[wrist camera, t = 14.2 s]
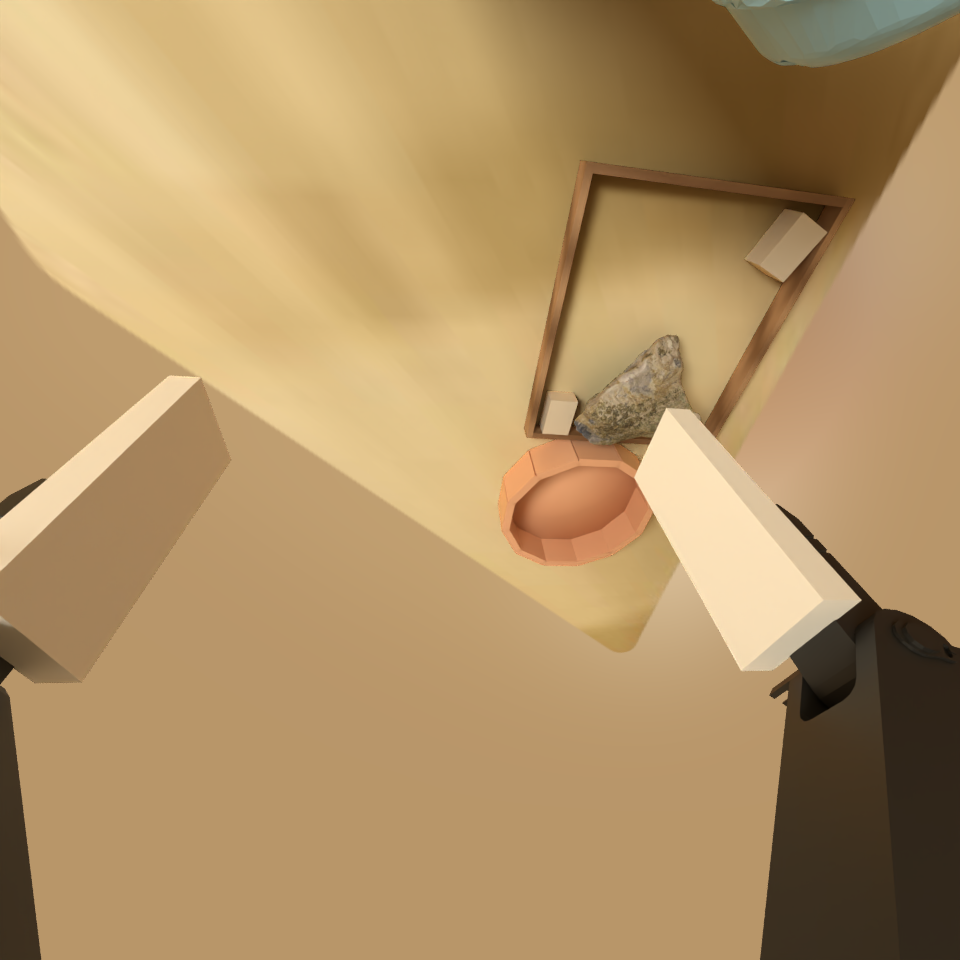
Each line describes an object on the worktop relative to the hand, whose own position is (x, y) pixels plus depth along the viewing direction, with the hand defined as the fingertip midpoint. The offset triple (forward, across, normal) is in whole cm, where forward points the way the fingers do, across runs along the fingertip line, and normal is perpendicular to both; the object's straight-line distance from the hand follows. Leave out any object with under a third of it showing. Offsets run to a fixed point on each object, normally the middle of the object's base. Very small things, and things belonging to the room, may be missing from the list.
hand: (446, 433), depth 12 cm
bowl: (+27, +17, -26) cm, 41 cm away
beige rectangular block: (+27, +28, +3) cm, 39 cm away
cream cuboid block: (+27, +12, -14) cm, 33 cm away
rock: (+26, +16, -7) cm, 32 cm away
